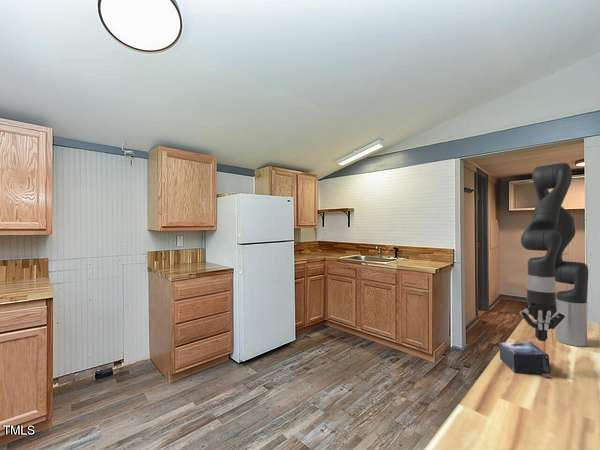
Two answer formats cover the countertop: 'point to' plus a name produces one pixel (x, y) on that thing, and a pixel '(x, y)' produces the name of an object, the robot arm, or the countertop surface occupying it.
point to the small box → (524, 357)
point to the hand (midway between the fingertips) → (541, 340)
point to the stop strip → (546, 375)
